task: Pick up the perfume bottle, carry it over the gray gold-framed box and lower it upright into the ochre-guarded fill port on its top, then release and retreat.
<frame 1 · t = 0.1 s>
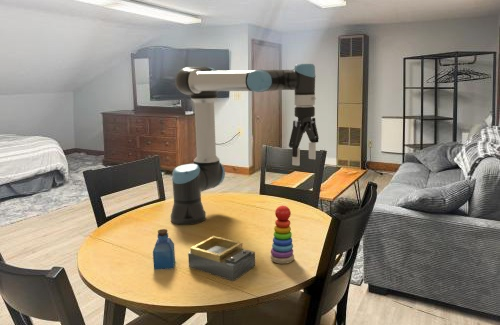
hand: (304, 162, 161), 28 cm above the table, fingers open, 13 cm apart
gray gold-framed box: (222, 266, 137), on the table
stacking toy: (282, 260, 142), on the table
perfume bottle: (164, 265, 139), on the table
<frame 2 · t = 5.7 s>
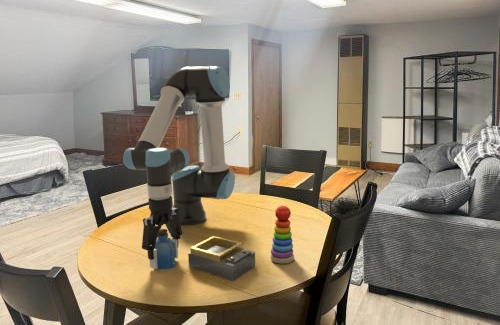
hand: (164, 262, 139), 1 cm above the table, fingers closed on perfume bottle, 9 cm apart
perfume bottle: (164, 265, 139), on the table, touching gripper
everything else where it was.
when the fingers open (8 cm above the table, at t = 11.3 s): perfume bottle drops 2 cm, resting on gray gold-framed box.
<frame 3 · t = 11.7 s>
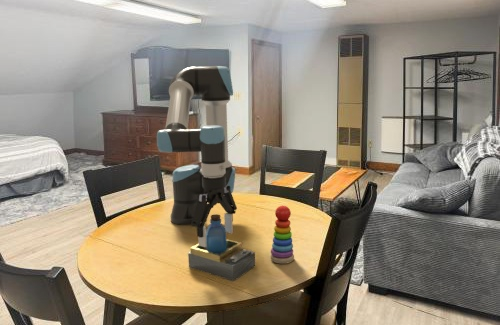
hand: (216, 238, 136), 9 cm above the table, fingers open, 13 cm apart
perfume bottle: (216, 251, 137), point 5 cm above the table, touching gray gold-framed box
everything else where it was.
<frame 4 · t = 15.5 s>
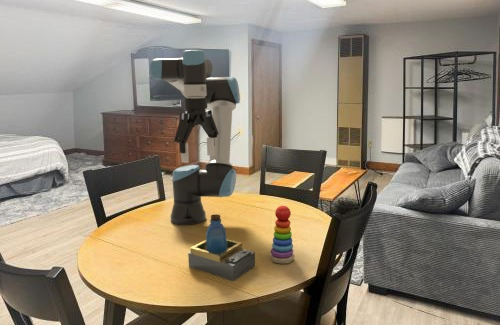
hand: (198, 159, 146), 33 cm above the table, fingers open, 13 cm apart
nothing on the table moved.
at the end: perfume bottle inside the target area on the gray gold-framed box (0.1 cm from its centre), point 4.8 cm above the gray gold-framed box's base; perfume bottle tilted 0°; the gripper is holding nothing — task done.
